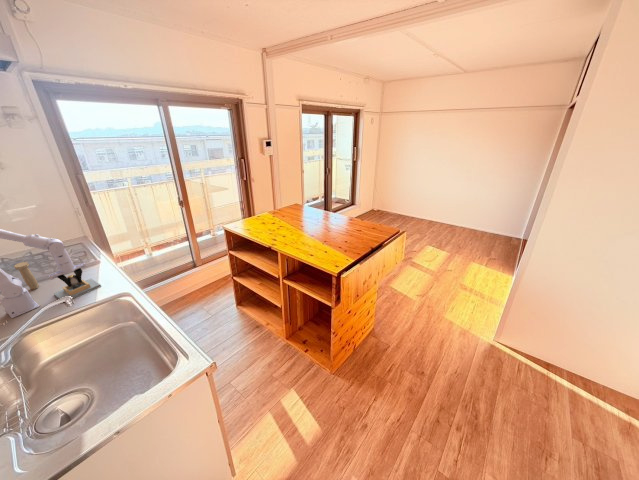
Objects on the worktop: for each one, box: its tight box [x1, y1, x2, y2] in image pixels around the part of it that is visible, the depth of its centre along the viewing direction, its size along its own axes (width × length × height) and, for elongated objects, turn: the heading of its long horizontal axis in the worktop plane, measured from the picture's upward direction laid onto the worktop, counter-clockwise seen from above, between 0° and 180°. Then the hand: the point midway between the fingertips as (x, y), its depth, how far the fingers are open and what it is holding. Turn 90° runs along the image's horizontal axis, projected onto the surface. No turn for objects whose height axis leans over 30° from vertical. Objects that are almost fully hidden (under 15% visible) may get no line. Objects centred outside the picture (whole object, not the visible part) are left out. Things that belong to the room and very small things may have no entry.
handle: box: [13, 261, 40, 291], centre depth 134 cm, size 5×6×15 cm
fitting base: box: [53, 278, 102, 299], centre depth 134 cm, size 16×12×3 cm
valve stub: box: [66, 274, 81, 289], centre depth 132 cm, size 4×4×7 cm
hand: (75, 284), depth 133 cm, fingers closed on valve stub, 4 cm apart
